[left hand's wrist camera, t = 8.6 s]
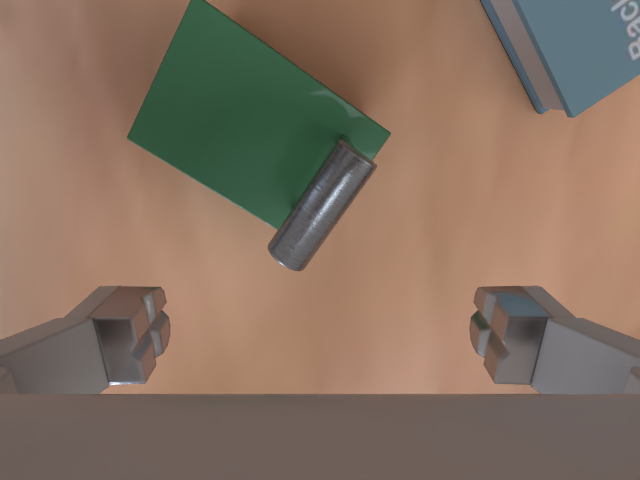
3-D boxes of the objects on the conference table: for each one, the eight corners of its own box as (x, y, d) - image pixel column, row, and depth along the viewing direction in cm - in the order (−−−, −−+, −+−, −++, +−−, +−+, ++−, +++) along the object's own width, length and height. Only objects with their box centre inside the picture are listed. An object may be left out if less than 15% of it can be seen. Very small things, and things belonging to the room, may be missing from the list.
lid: (389, 131, 25) (424, 154, 17) (310, 244, 28) (305, 312, 20) (198, -5, 22) (124, -60, 14) (132, 136, 25) (37, 161, 17)
